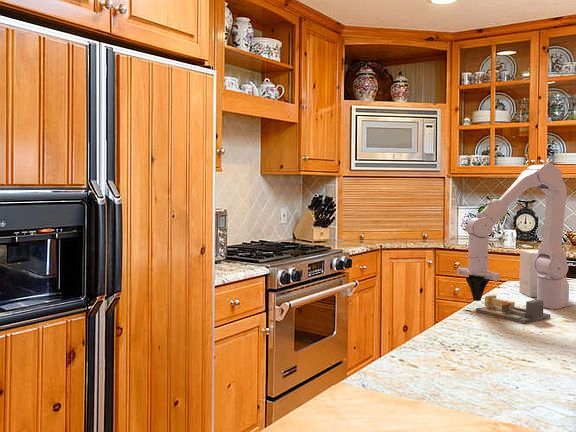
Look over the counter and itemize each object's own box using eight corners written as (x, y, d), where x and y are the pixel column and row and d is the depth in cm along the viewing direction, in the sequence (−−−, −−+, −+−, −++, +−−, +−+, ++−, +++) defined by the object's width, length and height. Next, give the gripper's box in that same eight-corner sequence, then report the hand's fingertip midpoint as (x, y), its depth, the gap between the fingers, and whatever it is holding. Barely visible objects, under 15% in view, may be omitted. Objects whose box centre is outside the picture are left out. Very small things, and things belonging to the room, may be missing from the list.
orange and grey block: (504, 310, 158) (505, 300, 158) (508, 311, 157) (508, 301, 157) (500, 311, 157) (500, 301, 157) (503, 312, 156) (504, 302, 156)
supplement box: (556, 297, 183) (557, 252, 182) (529, 297, 183) (530, 252, 182) (544, 291, 192) (545, 249, 191) (518, 291, 192) (519, 249, 191)
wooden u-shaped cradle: (493, 304, 167) (493, 294, 167) (516, 309, 161) (517, 299, 160) (481, 306, 164) (481, 296, 164) (504, 312, 158) (504, 301, 157)
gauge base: (501, 307, 170) (502, 289, 169) (550, 318, 156) (550, 299, 156) (476, 312, 163) (476, 294, 163) (524, 324, 150) (525, 304, 149)
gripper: (450, 254, 173) (449, 297, 174) (489, 260, 161) (488, 306, 162) (465, 253, 177) (464, 295, 178) (504, 258, 165) (503, 303, 166)
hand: (477, 300), depth 170 cm, fingers closed
